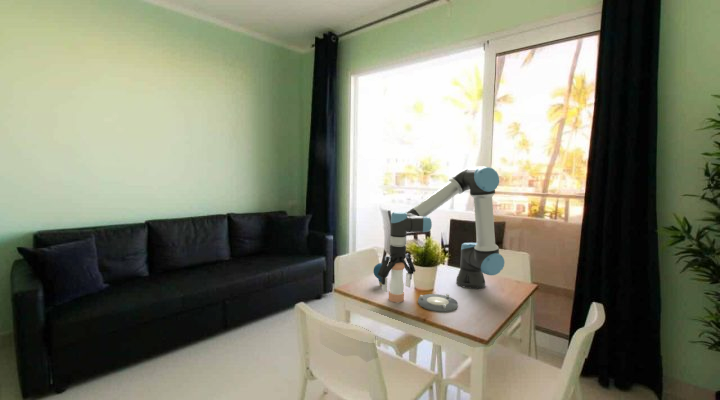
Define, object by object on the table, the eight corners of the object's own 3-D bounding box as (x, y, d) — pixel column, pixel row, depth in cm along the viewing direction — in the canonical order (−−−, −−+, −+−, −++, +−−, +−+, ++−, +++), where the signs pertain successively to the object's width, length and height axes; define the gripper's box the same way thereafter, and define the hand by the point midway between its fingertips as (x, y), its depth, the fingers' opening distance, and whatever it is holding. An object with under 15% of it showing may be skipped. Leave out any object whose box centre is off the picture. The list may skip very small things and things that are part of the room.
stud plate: (447, 295, 164) (447, 290, 164) (464, 310, 146) (465, 305, 146) (412, 297, 161) (413, 291, 161) (426, 312, 143) (426, 306, 143)
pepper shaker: (404, 297, 160) (406, 259, 159) (402, 303, 153) (403, 263, 152) (390, 295, 162) (391, 257, 161) (387, 301, 155) (388, 261, 154)
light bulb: (381, 281, 183) (382, 260, 182) (391, 286, 176) (392, 264, 175) (369, 284, 178) (370, 262, 177) (380, 289, 171) (380, 266, 170)
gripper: (414, 241, 165) (412, 282, 167) (371, 245, 153) (370, 290, 154) (423, 244, 158) (422, 287, 160) (380, 249, 146) (378, 295, 148)
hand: (396, 288), depth 157 cm, fingers open, 13 cm apart
